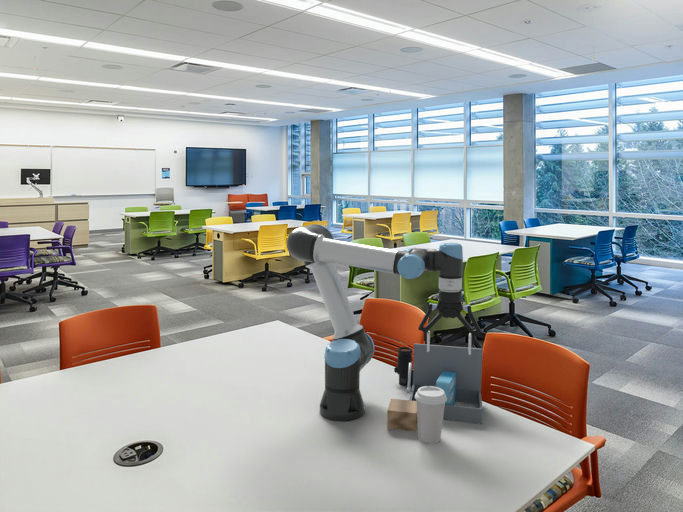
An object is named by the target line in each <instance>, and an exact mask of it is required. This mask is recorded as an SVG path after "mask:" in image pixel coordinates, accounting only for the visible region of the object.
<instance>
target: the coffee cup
mask: <svg viewBox="0 0 683 512" xmlns="http://www.w3.org/2000/svg"><path fill="white" fill-rule="evenodd" d="M414 400H415V401H416V402H417V418H418V422H417V434H418V435H417V436H418V439H419V440H420V442H422V443H425V444H427V445H428V444H429V445H433V444H437V443H439V442H441V438H442V430H443V429H442V428H443V422H444V420H443V415H444V407H445V402H446V401H447V397H446V394H445V392H444V390H442V389H441V388H438V387H434V386H424V387H420V388H419V389H418V391H417V392H416V394H415V399H414Z"/></svg>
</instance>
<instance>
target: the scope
mask: <svg viewBox="0 0 683 512" xmlns="http://www.w3.org/2000/svg"><path fill="white" fill-rule="evenodd" d="M412 353H413V349H412V348H411V347H407V346H400V347H398V348H397V366H395V367H394V368H393V370H394V373H395V374H397V375H398V384H399V385H400V386H402V387H403V386H405V387H406V386H407V385H408V371H409V363H412V362H413V359H412V358H413V357H412V355H413V354H412ZM412 364H413V363H412ZM412 386H413V368H412V369H411V383H410V387H412Z"/></svg>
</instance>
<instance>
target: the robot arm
mask: <svg viewBox="0 0 683 512" xmlns="http://www.w3.org/2000/svg"><path fill="white" fill-rule="evenodd" d="M286 248H287V251H288V253H289V255H290V256H291V257H292V258H294V259H295V260H297V261H302V262H303V263H304V266H305V268H308V269H309V270H311V272H312V275H313V277H314V280H315V282H316V283H315V284H316V286H317V288H318V291H319V294H320V296H321V299H322V301H323V305H324V307H325V309H326V313H327V314H328V317H329V320H330V322H331V325H332V328H333V330H334V333H333V336H332V340H331V342H329V343H328V344H327V345H326V347H325V350H324V351H325V353H324V391H323V393H322V397H321V400H320V402H319V413H320V415H321V416H322V417H324V418H326V419H329V420H332V421H337V422H338V421H339V422H347V421H353V420H357V419H359V418H360V417H362V416H363V415H364V413H365V402H364V398H363V396H362V392H361V390H360V376H361V375H360V374H361V373H360V372H361V371H362V370H363V369H364V367H365V366H366V365H368V364H369V362H370V361H371V360H372V358H373V356H374V354H375V343H374V340H373V338H372V337H371V335H369V334H368V333H366V331H365V329H364V326H363V325H362V324H359V323H358V322H357V318H356V317H355V314H354V310H353V309H352V306H351V304H350V301H349V298H348V294H347V293H346V290H345V287H344V285H343V283H342V279H341V277H340V274H339V272H338V270H337V266H336V264H337V265H343V266H347V267H355V268H360V269H366V270H372V271H377V272H383V273H387V274H394V275H398V276H401V277H402V278H404V279H407V280H414V279H417V278H419V277H420V276H421V275H423V273H424V272H435V273H436V272H438V289H439V290H438V299H437V300H438V302H437V303H433V302H429V304H428V309H427V311H426V313H425V315H424V316H423V318H422V320H421V322H420V324H419V325H418V328H417V329H418V331H420V332H423V341H424V342H426V344H427V352H429V350H430V345H431V344H430V343H431V342H430V341H431V331H430V329H431V328H433V326H434V325H435V324H436V323H437V322H438V321H439V320H440V319H441V318H442V317H443V318H445V319H449V318H450V319H455V318H457V320H458V321H460V322H461V324H462V325H463V326H464V327H465V328H466V329H467V331H468V332H469V333H468V347H467V348H468V354H469V355H471V348H472V345H475V343H476V335H479V334H480V335H481V332H482V331H481V327H480V326H479V324H478V321H477V319H476V317H475V315H474V312H473V311H472V305H471V304H470V303H469V304H466V305H463V304H462V301H463V300H462V299H463V298H462V295H463V293H462V289H463V263H464V262H463V261H464V257H463V255H464V254H463V252H464V250H463V249H464V248H463V246H462V245H461V244H460V243H457V242H442V243H440V244H439V246H438V248H420V247H419V248H417V247H411V248H410V247H409V248H408V247H407V248H404V249H403V250H398V249H392V248H385V247H379V246H373V245H370V244H369V245H368V244H362V243H355V242H350V241H344V240H338V239H335V237H334V234H333V232H332V231H331V230H330V229H329V228H328V227H327V226H324V225H322V224H314V223H313V224H309V225H305V226H300V227H296V228H295V229H293V230H292V231H291V232H290V233H289V234H288V236H287V239H286ZM435 309H437V311H438V313H437V314H436V315H435V316H434V317H433V318H432V319H431V320H430V322H428V324H426V323H427V321H428V319H429V317H430V315H431V314H432V311H434V310H435ZM463 310H464V311H465V312H466V313H467V314H468V316H469V318H470V321H471V323H472V325H473V327H474V328H473V327H472V325H471V324H470V323H469V322H468V321H467V320H466V318H465V317H464V315H462V314H461V312H462V311H463ZM425 325H426V326H425Z"/></svg>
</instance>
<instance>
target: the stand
mask: <svg viewBox="0 0 683 512" xmlns="http://www.w3.org/2000/svg"><path fill="white" fill-rule="evenodd" d="M386 411H387V413H386V414H387V415H386V417H387V419H386V428H387V429H389V430H398V431H399V430H400V431H408V432H409V431H410V432H414V433H415V432H417V429H418V418H417V402H416V400H414V401H411V400H409V399H399V398H390V401H389V405H388V407H387V410H386Z"/></svg>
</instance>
